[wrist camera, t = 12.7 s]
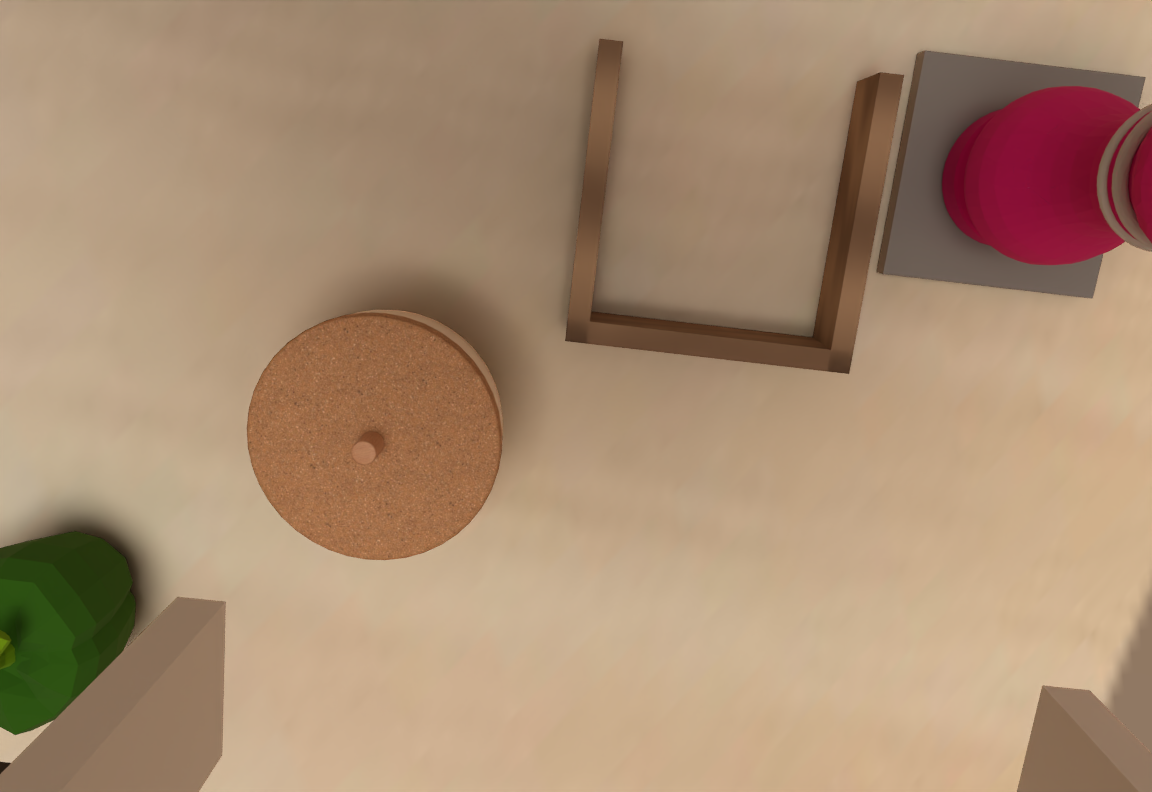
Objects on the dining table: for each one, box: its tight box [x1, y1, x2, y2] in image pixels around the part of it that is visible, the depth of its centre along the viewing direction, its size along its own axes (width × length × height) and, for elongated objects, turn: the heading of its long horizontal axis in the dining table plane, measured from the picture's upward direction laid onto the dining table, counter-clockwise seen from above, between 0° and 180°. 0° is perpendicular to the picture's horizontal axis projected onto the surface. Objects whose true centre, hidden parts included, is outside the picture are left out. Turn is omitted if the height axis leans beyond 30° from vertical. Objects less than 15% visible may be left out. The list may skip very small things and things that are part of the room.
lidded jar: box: [247, 310, 503, 560], centre depth 42 cm, size 11×11×9 cm
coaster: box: [877, 51, 1145, 298], centre depth 43 cm, size 10×10×1 cm
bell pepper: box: [0, 531, 136, 735], centre depth 44 cm, size 8×8×10 cm
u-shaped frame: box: [565, 39, 904, 374], centre depth 42 cm, size 13×13×4 cm
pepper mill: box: [942, 86, 1152, 265], centre depth 33 cm, size 7×7×20 cm
